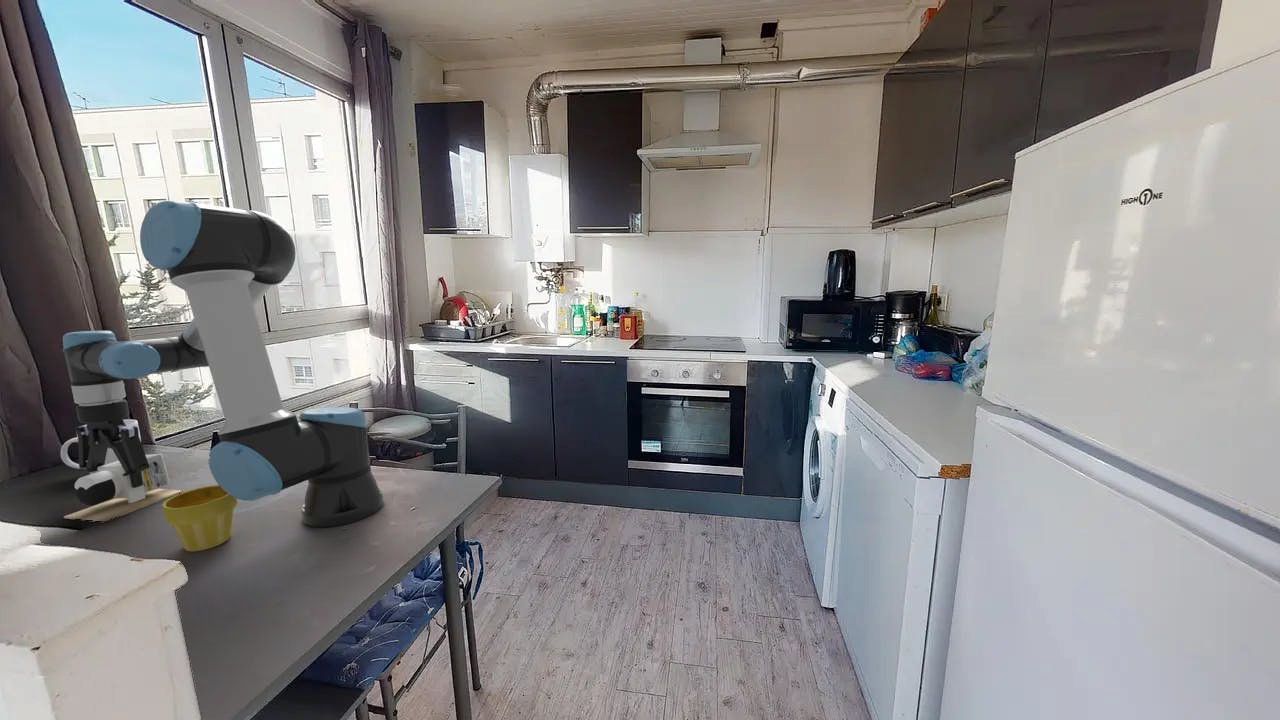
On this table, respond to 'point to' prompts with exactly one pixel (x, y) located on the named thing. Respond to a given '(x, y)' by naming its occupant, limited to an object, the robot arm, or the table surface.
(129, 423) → the mug
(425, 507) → the table surface
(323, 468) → the robot arm
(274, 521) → the table surface
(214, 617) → the table surface
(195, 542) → the plant pot
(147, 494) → the wooden board
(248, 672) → the table surface
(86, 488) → the container
